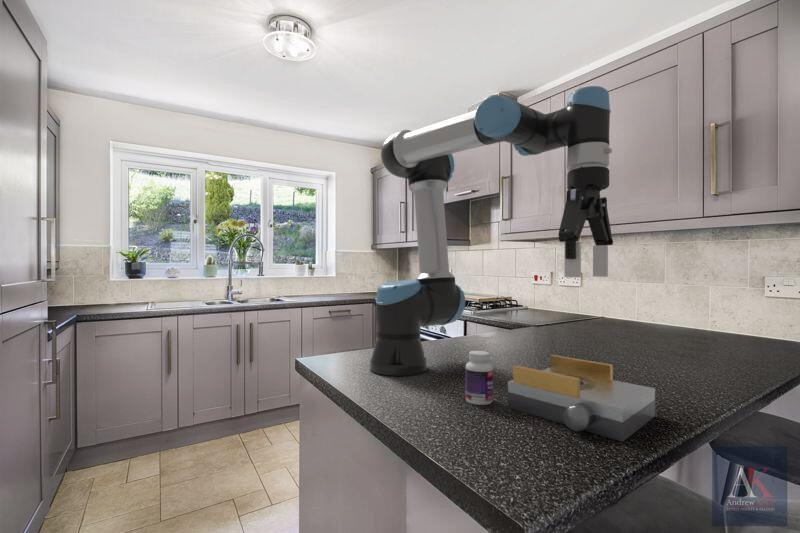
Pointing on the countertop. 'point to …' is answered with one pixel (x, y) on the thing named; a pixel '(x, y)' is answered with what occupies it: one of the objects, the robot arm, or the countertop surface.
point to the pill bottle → (479, 379)
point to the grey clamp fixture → (582, 397)
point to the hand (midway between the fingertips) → (587, 277)
